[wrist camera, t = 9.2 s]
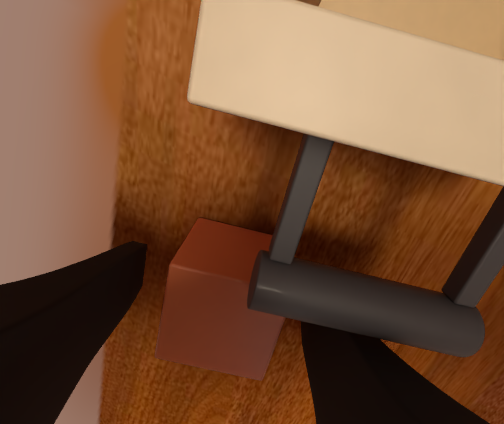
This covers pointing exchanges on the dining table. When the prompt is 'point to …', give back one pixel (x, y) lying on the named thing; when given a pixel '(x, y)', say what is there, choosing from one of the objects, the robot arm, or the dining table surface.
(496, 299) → the dining table surface
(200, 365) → the block
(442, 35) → the drawer
